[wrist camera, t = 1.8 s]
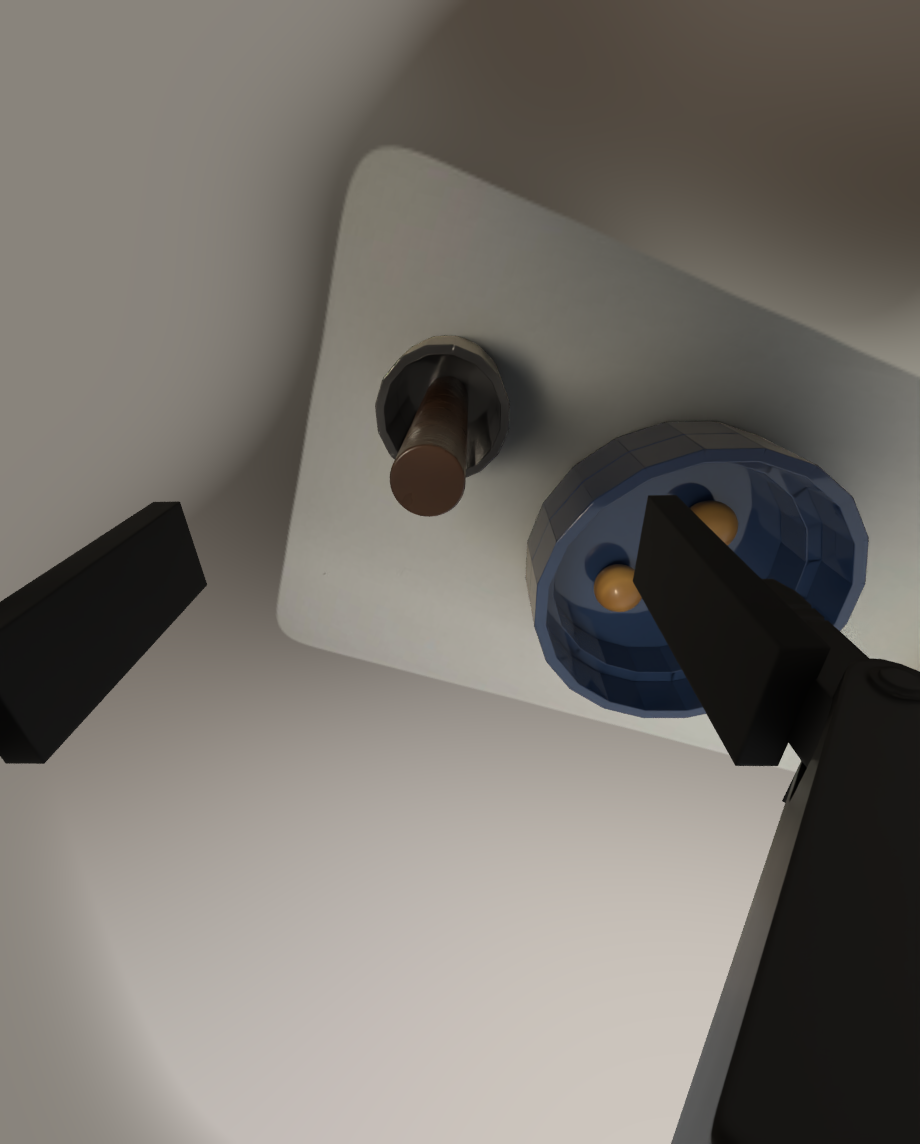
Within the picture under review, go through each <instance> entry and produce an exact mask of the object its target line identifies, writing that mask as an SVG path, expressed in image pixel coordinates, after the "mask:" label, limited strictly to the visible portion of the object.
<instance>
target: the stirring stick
mask: <svg viewBox="0 0 920 1144" xmlns="http://www.w3.org/2000/svg"><path fill="white" fill-rule="evenodd" d="M467 425H468V392H467V390H466V387H465V386H464V384H463V383H462V382H461V381H459V380H458V379H456V378H454V377H451V376H443V377H439V378H437V379H435V380H434V381H433V382H432V383H431V384H430V385H429V387H428V389H427V391H426V393H425V395H424V398H423V400H422V402H421V404H420V406H419V409H418V411H417V413H416V415H415V417H414V419H413V422H412V424H411V426H410V428H409V430H408V433H407V435H406V437H405V439H404V441H403V444H402V446H401V448H400V450H399V452H398V454H397V457H396V459H395V461H394V463H393V466H392V468H391V472H390V485H391V489H392V492H393V494H394V496H395V498H396V500H397V501H398V502H399V503H400V504H401V505H402V506H403V507H404V508H405V509H407V510H408V511H410V512H412V513H414V514H417V515H420V516H429V517H430V516H438V515H441V514H444V513H446V512H448V511H450V510H451V509H452V508H454V507H455V506H456V505H457V504H458V502H459V501H460V499H461V497H462V495H463V493H464V489H465V479H466V452H467Z"/></svg>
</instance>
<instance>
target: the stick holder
mask: <svg viewBox="0 0 920 1144" xmlns="http://www.w3.org/2000/svg"><path fill="white" fill-rule="evenodd" d="M443 376H451V377H454V378H456V379H458V380H459V381H461V382H462V383H463V384H464V386H465V387H466V390H467V392H468V425H467V452H466V477H469V476H471V475H473V474H476V473H478V472H480V471H482V470H483V469H484V468H485V467H486V466H487V465H488V464H489V463H490V462H491V461H492V460H493V459H494V458H495V457H496V456H497V455H498V453H499V451H500V449H501V447H502V445H503V442H504V440H505V438H506V435H507V433H508V431H509V408H510V403H509V399H508V396H507V393H506V390H505V387H504V384H503V382H502V379H501V376H500V373H499V371H498V368H497V366H496V364H495V362H494V361H493V360H492V359H491V358H490V356H489V355H488V354H487V353H486V352H485V351H484V350H483V349H482V348H481V347H480V346H479V345H477V344H475V343H473V342H471V341H469V340H467V339H464V338H461V337H458V336H447V335H444V336H434V337H431V338H429V339H426V340H424V341H422V342H420V343H418V344H416V345H414V346H412V347H411V348H410V349H409V350H408V351H407V352H406V353H405V354H404V355H402V356H401V357H400V358H399V360H398V361H397V362H396V363H395V364H394V366H393V367H392V368H391V369H390V370H389V372H388V373H387V374H386V375H385V377H384V378H383V380H382V383H381V387H380V390H379V393H378V397H377V400H376V405H375V409H376V418H377V427H378V433H379V435H380V437H381V439H382V441H383V443H384V445H385V447H386V448H387V450H388V452H389V454H390V455H391V457H392V458H393V459H396V457H397V454H398V452H399V450H400V448H401V446H402V444H403V441H404V439H405V437H406V435H407V433H408V430H409V428H410V426H411V424H412V422H413V419H414V417H415V415H416V413H417V411H418V409H419V406H420V404H421V402H422V400H423V398H424V395H425V393H426V391H427V389H428V387H429V385H430V384H431V383H432V382H433V381H434V380H435V379H437V378H439V377H443Z"/></svg>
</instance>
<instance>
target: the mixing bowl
mask: <svg viewBox="0 0 920 1144" xmlns="http://www.w3.org/2000/svg"><path fill="white" fill-rule="evenodd" d="M649 495H677V496H678V497H679V498H680V499H681V500H682V501H683V502H684V503H685V504H686V505H687V506H688V507H689V508H690V507H691V506H693V505H694V504H696V503H699V502H702V501H708V500H713V501H719V502H722V503H724V504H726V505H727V506H729V507H730V508H731V509H732V510H733V511H734V513H735V515H736V517H737V520H738V531H737V534H736V536H735V538H734V539H733V541H732V542H731V543H730V544H729V545H728V547H729V548H730V549H731V550H732V551H733V552H734V553H735V554H736V555H738V556H739V557H740V558H741V559H742V560H743V561H744V562H745V563H746V564H747V565H748V566H749V567H750V568H751V569H752V570H753V571H754V572H755V573H756V574H757V575H758V576H759V577H760V578H761V579H774V580H776V581H778V582H780V583H782V584H784V585H785V586H787V587H789V588H791V589H793V590H795V591H796V592H797V593H798V594H800V595H801V596H802V597H803V598H804V599H805V600H806V601H807V602H808V603H809V604H810V605H811V608H815V609H816V610H817V611H818V612H819V613H820V614H821V615H822V616H824V620H828V621H829V622H830V623H831V624H832V625H833V626H834V627H836V628H837V629H838V630H839V631H841V630H842V629H843V627H844V626H845V625H846V624H847V622H848V620H849V618H850V616H851V614H852V611H853V609H854V607H855V605H856V603H857V601H858V598H859V596H860V594H861V592H862V590H863V588H864V585H865V582H866V569H867V555H868V542H869V540H868V539H869V537H868V535H867V532H866V530H865V527H864V524H863V522H862V519H861V517H860V514H859V512H858V509H857V506H856V504H855V501H854V499H853V497H852V496H851V495H850V494H849V493H848V492H847V491H846V490H845V489H843V488H842V487H841V486H840V485H839V484H838V483H837V482H836V481H835V480H833V479H832V478H831V477H830V476H829V475H828V474H827V473H826V472H825V471H823V470H822V469H821V468H820V467H819V466H818V465H816V464H814V463H812V462H810V461H808V460H806V459H804V458H802V457H800V456H798V455H796V454H794V453H792V452H790V451H788V450H786V449H784V448H782V447H780V446H778V445H776V444H774V443H772V442H770V441H768V440H767V439H765V438H763V437H761V436H759V435H756V434H753V433H750V432H747V431H744V430H741V429H738V428H735V427H732V426H729V425H726V424H723V423H720V422H716V421H690V422H664V423H661V424H658V425H655V426H652V427H648V428H645V429H642V430H639V431H636V432H633V433H630V434H627V435H624V436H621V437H618V438H616V439H614V440H612V441H611V442H610V443H608V444H607V445H605V446H604V447H602V448H601V449H599V450H598V451H596V452H595V453H593V454H592V455H590V456H589V457H587V458H586V459H584V460H583V461H581V462H580V463H578V464H577V465H575V466H574V467H573V468H572V469H571V470H570V471H569V473H568V474H567V475H566V476H565V477H564V479H563V480H562V481H561V482H560V483H559V485H558V486H557V487H556V488H555V489H554V491H553V492H552V493H551V494H550V495H549V497H548V498H547V499H546V500H545V501H544V503H543V505H542V507H541V509H540V512H539V514H538V517H537V519H536V521H535V524H534V526H533V529H532V531H531V534H530V536H529V538H528V542H527V558H526V577H525V578H526V584H527V589H528V595H529V600H530V605H531V611H532V616H533V622H534V627H535V630H536V633H537V636H538V639H539V642H540V645H541V648H542V651H543V654H544V657H545V660H546V662H547V663H548V664H549V665H550V667H551V668H552V669H553V670H554V671H555V672H556V673H557V675H558V676H559V677H560V678H561V679H562V680H563V682H564V683H565V684H566V685H567V686H568V687H569V689H571V690H573V691H574V692H576V693H578V694H580V695H581V696H583V697H585V698H586V699H588V700H590V701H592V702H593V703H595V704H597V705H599V706H600V707H602V708H604V709H608V710H612V711H617V712H621V713H625V714H629V715H633V716H637V717H641V718H688V717H693V716H697V715H702V714H706V712H705V710H704V708H703V707H702V705H701V703H700V701H699V699H698V698H697V696H696V694H695V692H694V690H693V689H692V687H691V685H690V683H689V681H688V680H687V678H686V676H685V674H684V673H683V671H682V669H681V667H680V665H679V664H678V662H677V660H676V658H675V656H674V655H673V653H672V651H671V649H670V647H669V646H668V644H667V642H666V640H665V639H664V637H663V635H662V633H661V631H660V630H659V628H658V626H657V624H656V622H655V621H654V619H653V617H652V615H651V613H650V612H649V610H648V608H647V606H646V605H645V603H644V601H643V599H641V601H640V602H639V603H638V604H637V605H636V606H635V607H634V608H632V609H630V610H628V611H624V612H614V611H610V610H608V609H606V608H604V607H603V606H602V605H601V604H600V603H599V602H598V600H597V599H596V597H595V594H594V582H595V579H596V577H597V575H598V574H599V573H600V571H602V570H603V569H604V568H606V567H608V566H610V565H614V564H623V565H627V566H630V567H632V568H633V569H635V565H636V560H637V554H638V549H639V543H640V538H641V532H642V526H643V521H644V515H645V510H646V504H647V499H648V496H649Z"/></svg>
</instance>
